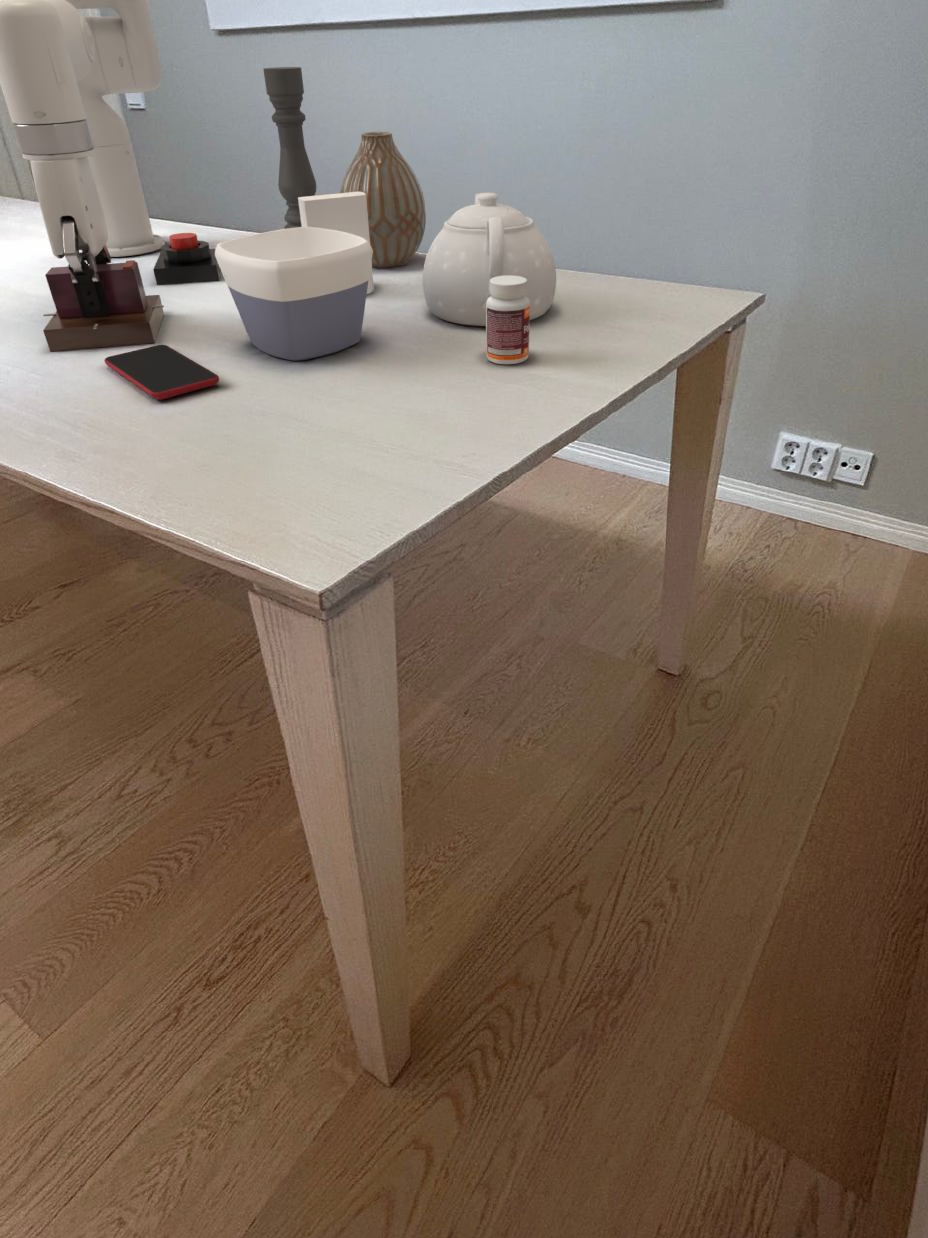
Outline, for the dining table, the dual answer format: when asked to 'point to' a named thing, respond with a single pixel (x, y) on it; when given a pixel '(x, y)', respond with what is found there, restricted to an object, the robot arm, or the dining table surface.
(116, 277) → the bar
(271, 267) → the bowl
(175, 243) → the button
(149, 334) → the panel
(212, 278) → the button block
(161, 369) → the smartphone
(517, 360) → the pill bottle
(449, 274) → the teapot
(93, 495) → the dining table surface
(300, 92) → the candle holder
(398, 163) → the vase
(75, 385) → the dining table surface
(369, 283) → the base with upright slab
